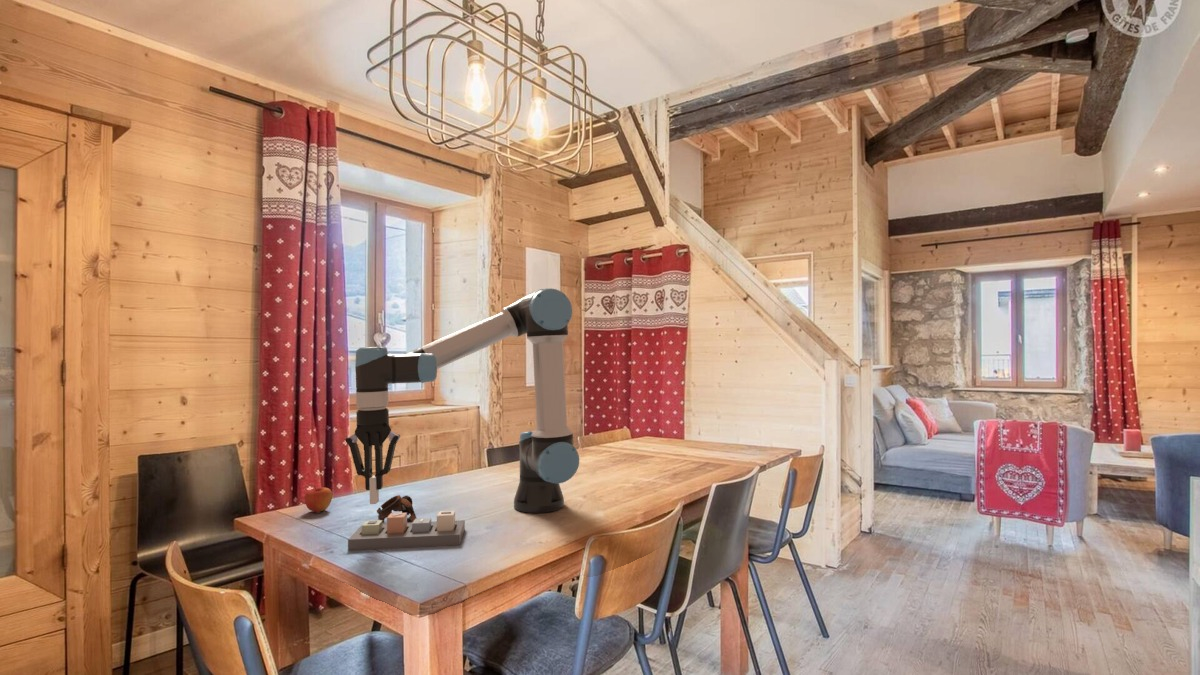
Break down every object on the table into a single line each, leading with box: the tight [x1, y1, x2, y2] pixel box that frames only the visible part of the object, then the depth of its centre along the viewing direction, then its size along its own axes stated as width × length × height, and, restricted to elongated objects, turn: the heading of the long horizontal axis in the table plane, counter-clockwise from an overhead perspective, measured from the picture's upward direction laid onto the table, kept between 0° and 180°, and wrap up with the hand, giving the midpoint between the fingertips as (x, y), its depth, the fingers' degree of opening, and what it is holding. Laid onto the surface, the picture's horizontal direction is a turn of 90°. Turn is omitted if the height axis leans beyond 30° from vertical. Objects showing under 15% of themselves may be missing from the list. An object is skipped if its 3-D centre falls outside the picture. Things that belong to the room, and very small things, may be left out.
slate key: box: [412, 517, 432, 532], centre depth 145 cm, size 4×4×4 cm
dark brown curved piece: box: [376, 494, 418, 523], centre depth 160 cm, size 12×10×8 cm
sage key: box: [361, 519, 384, 535], centre depth 143 cm, size 4×4×4 cm
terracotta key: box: [386, 512, 408, 533], centre depth 144 cm, size 4×4×4 cm
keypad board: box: [347, 519, 466, 551], centre depth 144 cm, size 26×12×2 cm, turn 97°
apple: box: [304, 485, 333, 514], centre depth 170 cm, size 7×7×8 cm
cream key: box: [436, 510, 456, 531], centre depth 146 cm, size 4×4×4 cm
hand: (374, 502), depth 144 cm, fingers closed
